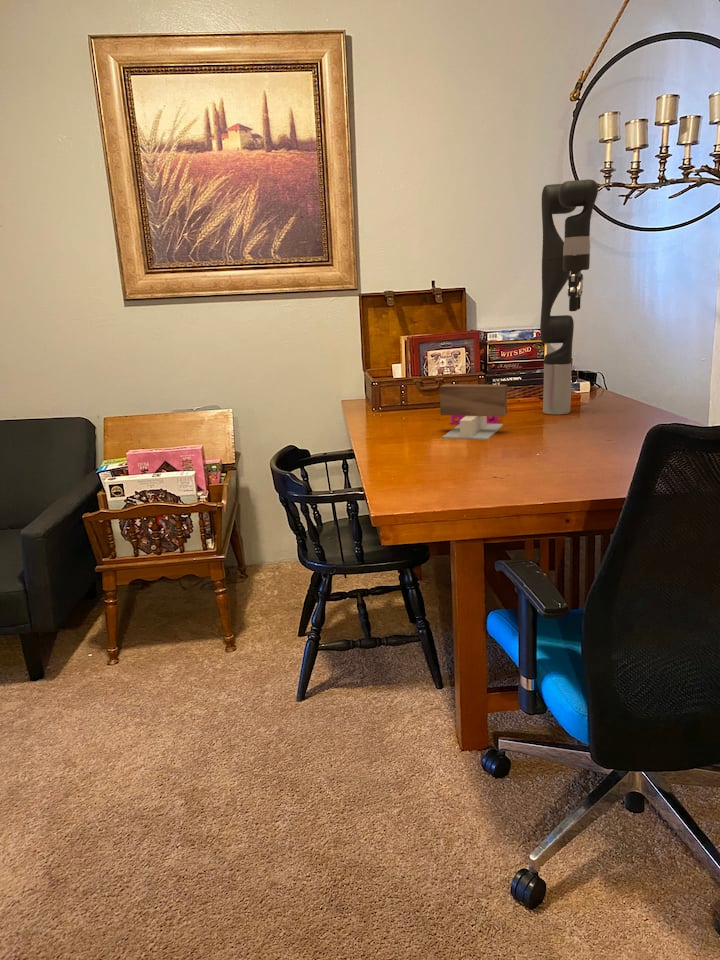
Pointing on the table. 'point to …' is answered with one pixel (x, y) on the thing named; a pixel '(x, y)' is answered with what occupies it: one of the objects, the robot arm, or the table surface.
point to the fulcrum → (473, 429)
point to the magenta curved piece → (489, 420)
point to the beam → (473, 400)
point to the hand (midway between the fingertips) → (574, 310)
